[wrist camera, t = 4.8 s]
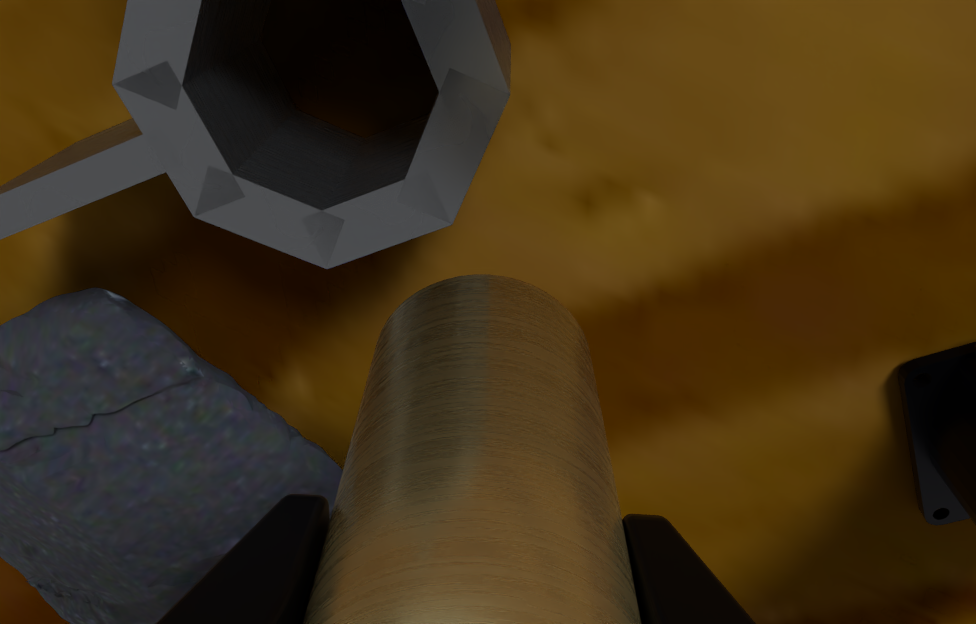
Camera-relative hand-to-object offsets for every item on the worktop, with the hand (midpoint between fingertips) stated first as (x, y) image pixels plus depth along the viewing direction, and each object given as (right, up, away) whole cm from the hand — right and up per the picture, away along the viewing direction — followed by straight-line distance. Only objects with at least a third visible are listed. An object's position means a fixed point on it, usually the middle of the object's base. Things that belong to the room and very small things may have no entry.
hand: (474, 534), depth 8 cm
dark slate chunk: (-9, -6, +20) cm, 23 cm away
